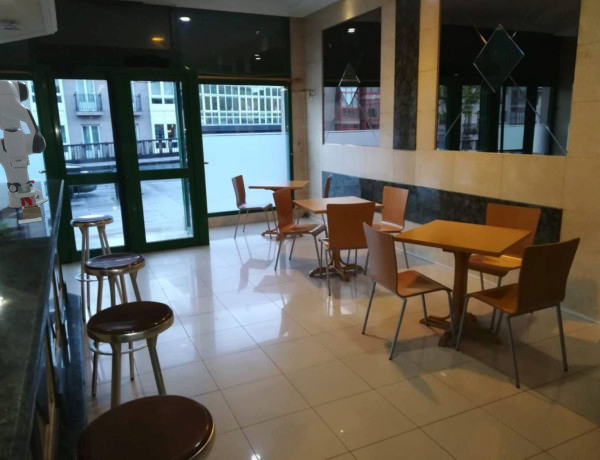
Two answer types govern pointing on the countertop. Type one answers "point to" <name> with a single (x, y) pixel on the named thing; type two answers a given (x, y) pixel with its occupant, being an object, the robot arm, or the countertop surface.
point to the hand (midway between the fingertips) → (24, 190)
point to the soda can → (28, 201)
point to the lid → (25, 193)
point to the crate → (31, 211)
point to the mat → (30, 220)
